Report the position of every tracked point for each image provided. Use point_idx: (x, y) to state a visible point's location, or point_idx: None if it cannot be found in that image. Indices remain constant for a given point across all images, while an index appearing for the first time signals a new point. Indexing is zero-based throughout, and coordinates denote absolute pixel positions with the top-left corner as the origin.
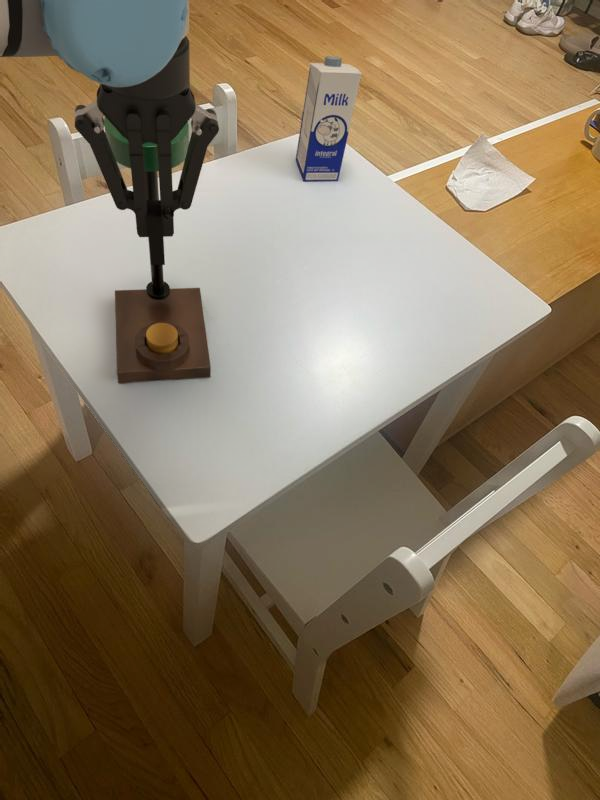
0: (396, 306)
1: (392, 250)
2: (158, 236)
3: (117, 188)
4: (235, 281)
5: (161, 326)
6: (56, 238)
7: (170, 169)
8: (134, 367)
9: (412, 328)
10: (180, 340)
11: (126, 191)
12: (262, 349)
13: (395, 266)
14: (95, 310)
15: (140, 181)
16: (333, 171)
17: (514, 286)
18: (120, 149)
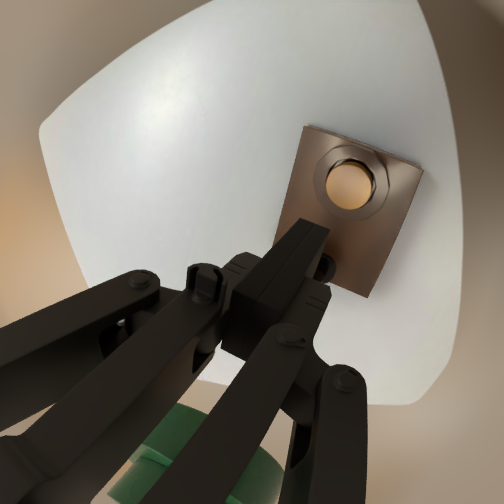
0: (105, 159)
1: (95, 224)
2: (279, 258)
3: (333, 449)
4: (229, 253)
5: (343, 201)
6: (380, 384)
7: (68, 399)
8: (399, 167)
9: (101, 129)
10: (326, 173)
11: (300, 417)
12: (234, 144)
13: (96, 205)
14: (397, 286)
15: (219, 435)
16: (117, 322)
17: (43, 155)
18: (256, 488)
